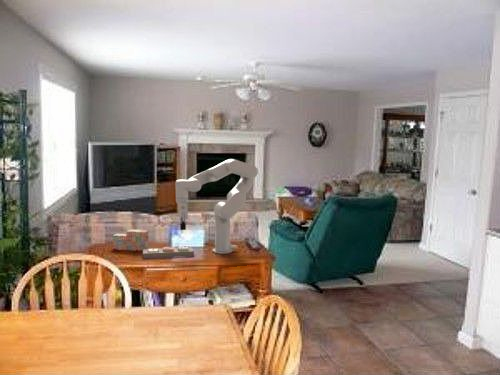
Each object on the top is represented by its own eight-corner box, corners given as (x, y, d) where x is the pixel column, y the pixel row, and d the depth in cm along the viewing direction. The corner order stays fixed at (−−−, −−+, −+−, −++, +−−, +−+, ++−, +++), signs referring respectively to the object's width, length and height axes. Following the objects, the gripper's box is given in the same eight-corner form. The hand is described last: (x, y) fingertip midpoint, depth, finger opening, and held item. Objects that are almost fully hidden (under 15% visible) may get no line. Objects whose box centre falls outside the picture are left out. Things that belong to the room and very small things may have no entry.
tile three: (172, 250, 273) (172, 246, 273) (173, 252, 268) (173, 248, 268) (163, 250, 272) (163, 246, 272) (163, 253, 267) (163, 249, 266)
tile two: (187, 249, 275) (187, 245, 275) (188, 252, 270) (188, 248, 270) (178, 250, 274) (178, 246, 274) (178, 252, 269) (178, 248, 268)
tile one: (157, 252, 271) (157, 248, 271) (158, 254, 266) (158, 250, 266) (148, 252, 270) (148, 248, 270) (148, 255, 265) (148, 250, 264)
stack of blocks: (112, 249, 282) (112, 230, 280) (116, 247, 288) (116, 228, 286) (145, 251, 279) (145, 231, 278) (148, 248, 286) (148, 229, 284)
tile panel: (192, 251, 278) (192, 247, 278) (193, 256, 269) (193, 251, 268) (143, 254, 272) (143, 249, 271) (142, 258, 262) (142, 253, 262)
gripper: (189, 201, 262) (190, 231, 264) (187, 197, 276) (188, 226, 279) (176, 202, 260) (177, 232, 263) (175, 198, 275) (176, 227, 277)
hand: (183, 229), depth 271 cm, fingers closed
